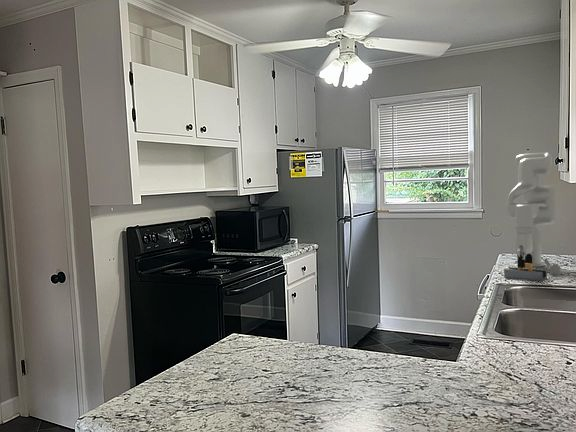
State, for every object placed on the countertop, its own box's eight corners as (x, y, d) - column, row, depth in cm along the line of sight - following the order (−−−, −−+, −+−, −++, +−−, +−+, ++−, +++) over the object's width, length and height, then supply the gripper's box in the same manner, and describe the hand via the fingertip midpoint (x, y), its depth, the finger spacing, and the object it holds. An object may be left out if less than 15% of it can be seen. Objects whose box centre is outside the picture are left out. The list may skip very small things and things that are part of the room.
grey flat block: (509, 274, 240) (509, 266, 240) (546, 278, 228) (546, 270, 228) (504, 277, 235) (504, 269, 235) (541, 281, 223) (541, 272, 223)
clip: (519, 274, 235) (519, 262, 234) (532, 276, 230) (532, 263, 230) (517, 275, 233) (517, 263, 232) (531, 276, 229) (531, 264, 228)
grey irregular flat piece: (560, 274, 235) (560, 258, 234) (559, 275, 234) (559, 258, 233) (543, 273, 239) (543, 257, 238) (543, 274, 238) (543, 258, 237)
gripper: (522, 228, 239) (523, 262, 240) (509, 232, 227) (510, 268, 228) (539, 228, 234) (539, 263, 235) (526, 232, 221) (526, 269, 223)
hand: (525, 265), depth 231 cm, fingers open, 9 cm apart
